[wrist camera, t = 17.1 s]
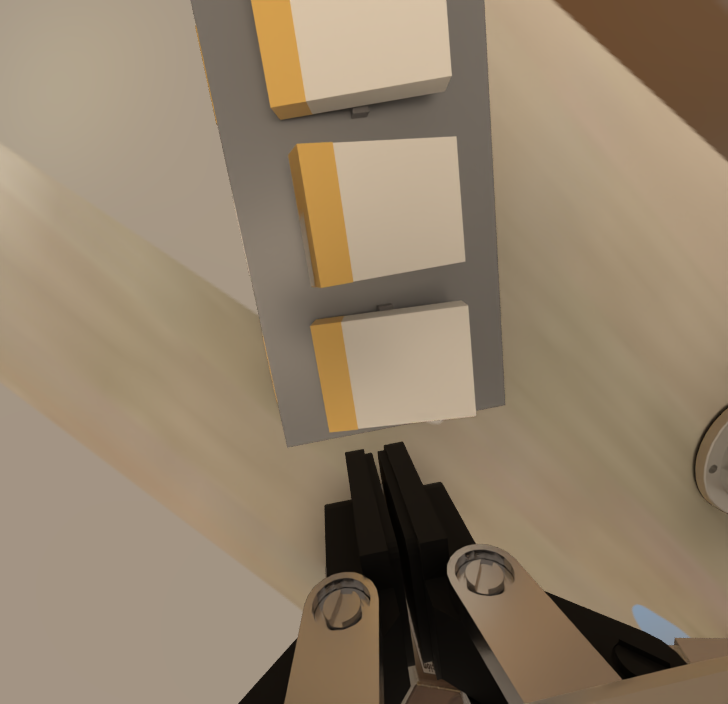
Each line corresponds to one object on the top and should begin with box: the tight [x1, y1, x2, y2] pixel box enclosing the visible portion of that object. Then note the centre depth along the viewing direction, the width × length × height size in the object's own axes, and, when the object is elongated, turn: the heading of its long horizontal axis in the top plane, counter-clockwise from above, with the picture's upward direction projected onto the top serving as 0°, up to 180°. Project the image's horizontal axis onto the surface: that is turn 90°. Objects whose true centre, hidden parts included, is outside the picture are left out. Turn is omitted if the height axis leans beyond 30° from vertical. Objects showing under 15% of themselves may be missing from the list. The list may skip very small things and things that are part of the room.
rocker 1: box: [251, 0, 452, 120], centre depth 17 cm, size 8×6×2 cm
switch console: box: [191, 0, 505, 448], centre depth 24 cm, size 14×25×7 cm, turn 8°
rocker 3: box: [310, 300, 476, 433], centre depth 21 cm, size 8×6×2 cm
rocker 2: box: [288, 136, 465, 288], centre depth 19 cm, size 8×6×2 cm
